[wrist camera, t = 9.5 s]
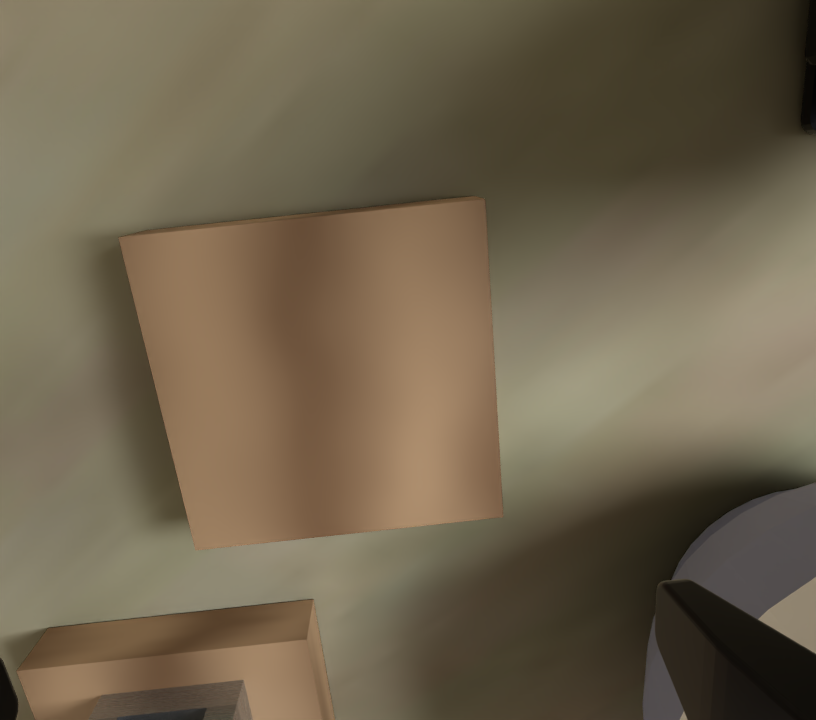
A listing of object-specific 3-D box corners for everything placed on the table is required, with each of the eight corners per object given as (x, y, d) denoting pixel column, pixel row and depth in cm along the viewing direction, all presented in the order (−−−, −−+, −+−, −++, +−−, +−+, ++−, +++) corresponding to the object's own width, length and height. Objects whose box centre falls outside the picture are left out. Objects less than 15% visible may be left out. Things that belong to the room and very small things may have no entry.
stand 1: (474, 195, 18) (485, 199, 16) (492, 485, 21) (503, 517, 19) (146, 230, 18) (118, 237, 16) (212, 515, 21) (195, 550, 19)
